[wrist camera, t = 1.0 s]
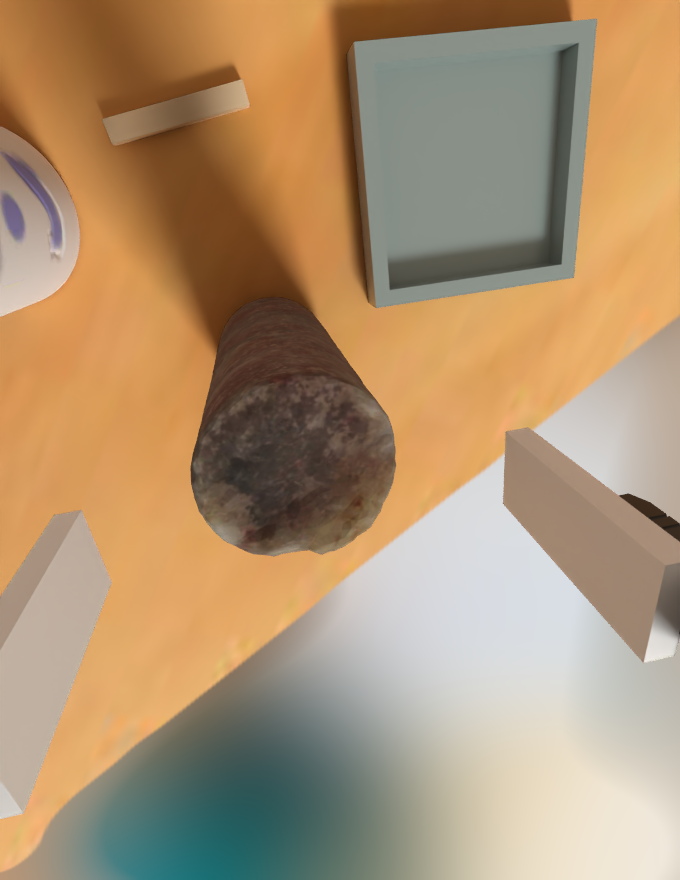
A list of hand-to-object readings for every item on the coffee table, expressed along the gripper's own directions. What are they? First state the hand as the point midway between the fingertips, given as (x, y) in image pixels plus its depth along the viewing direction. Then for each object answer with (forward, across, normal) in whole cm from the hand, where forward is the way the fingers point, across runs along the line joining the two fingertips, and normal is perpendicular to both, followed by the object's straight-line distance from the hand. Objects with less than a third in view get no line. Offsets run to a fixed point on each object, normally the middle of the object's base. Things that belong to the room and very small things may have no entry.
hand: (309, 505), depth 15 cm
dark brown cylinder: (+21, 0, 0) cm, 21 cm away
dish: (+21, +14, +9) cm, 27 cm away
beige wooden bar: (+21, -3, +14) cm, 26 cm away
